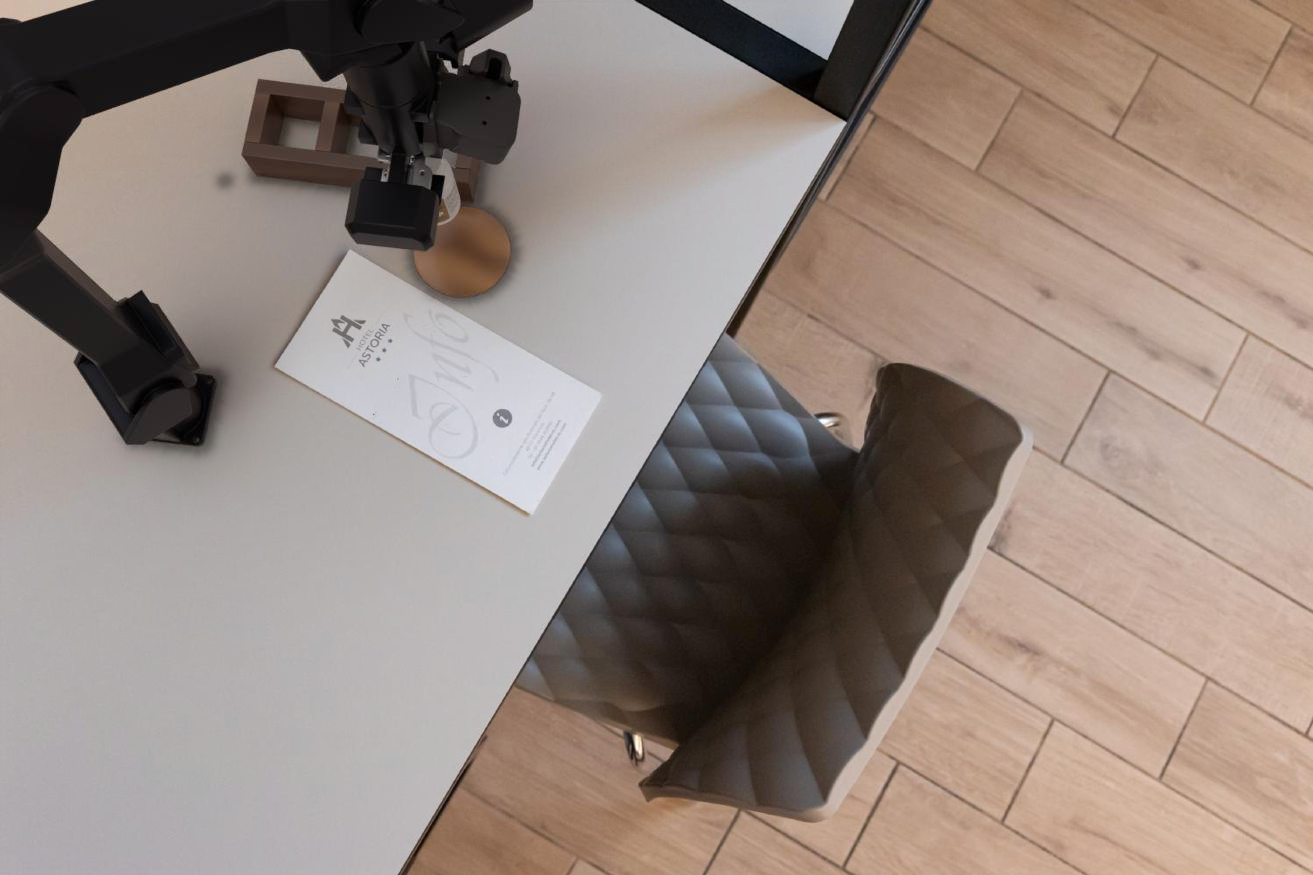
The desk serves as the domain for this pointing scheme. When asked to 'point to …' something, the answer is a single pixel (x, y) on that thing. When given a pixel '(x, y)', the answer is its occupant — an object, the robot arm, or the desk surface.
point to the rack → (318, 139)
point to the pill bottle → (445, 189)
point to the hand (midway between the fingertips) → (426, 180)
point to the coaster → (466, 254)
